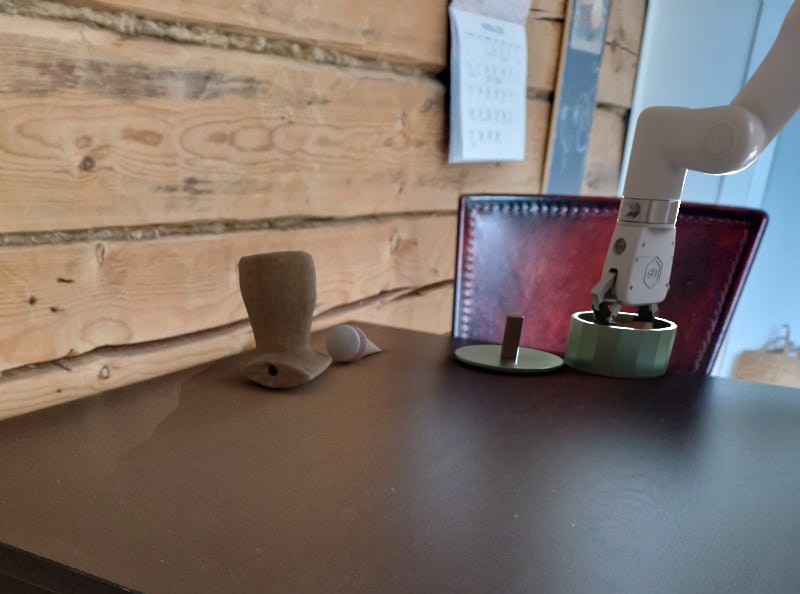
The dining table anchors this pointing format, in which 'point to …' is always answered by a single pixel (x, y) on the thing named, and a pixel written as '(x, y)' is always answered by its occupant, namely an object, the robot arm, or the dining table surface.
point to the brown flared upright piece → (281, 317)
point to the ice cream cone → (348, 343)
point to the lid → (509, 353)
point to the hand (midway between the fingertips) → (619, 347)
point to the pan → (619, 347)
